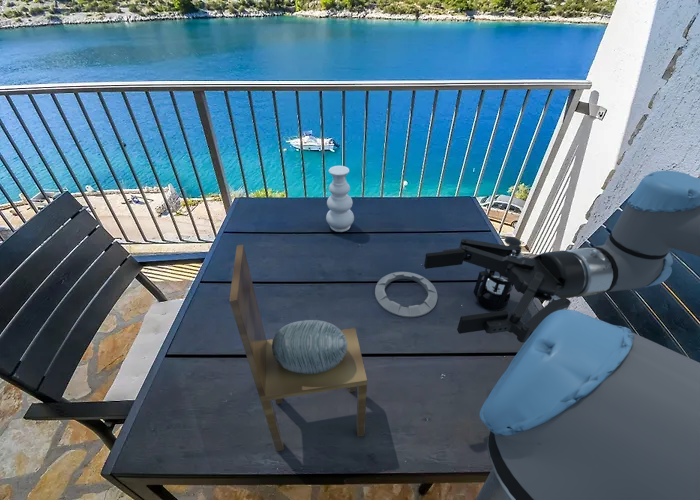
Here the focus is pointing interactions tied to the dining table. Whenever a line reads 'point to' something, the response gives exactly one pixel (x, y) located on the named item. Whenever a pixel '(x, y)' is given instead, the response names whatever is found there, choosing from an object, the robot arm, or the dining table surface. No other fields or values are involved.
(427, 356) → the dining table surface
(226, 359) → the dining table surface
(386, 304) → the ring
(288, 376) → the wooden chair
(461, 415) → the dining table surface
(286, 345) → the grey streaked ellipsoid
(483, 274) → the french press
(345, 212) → the vase
